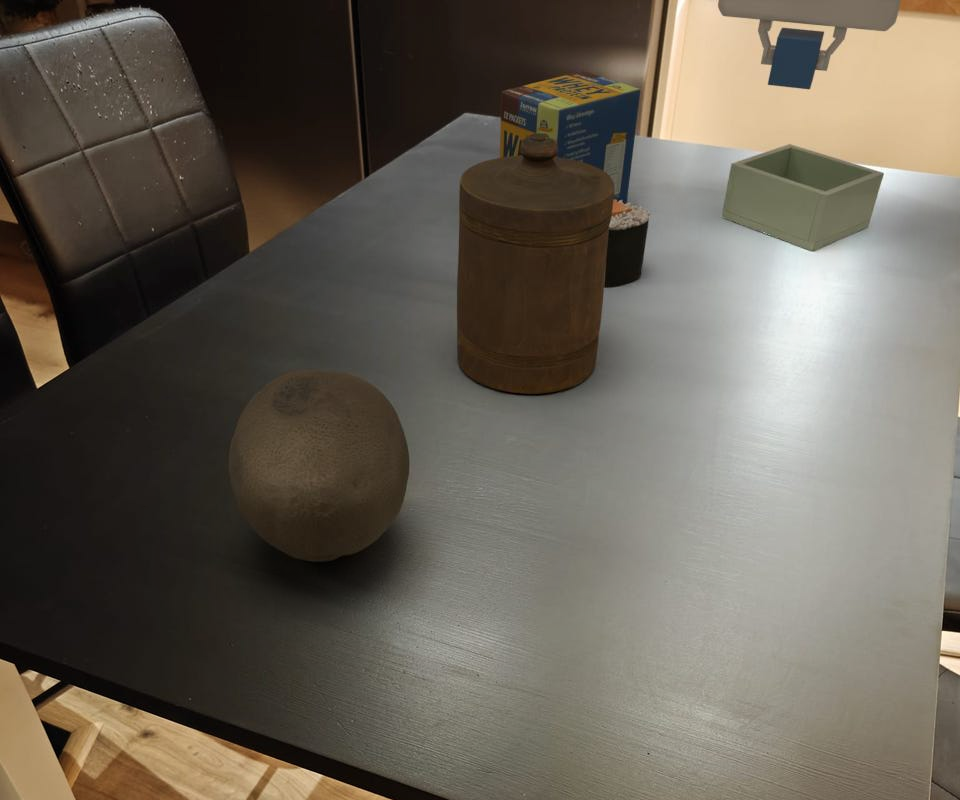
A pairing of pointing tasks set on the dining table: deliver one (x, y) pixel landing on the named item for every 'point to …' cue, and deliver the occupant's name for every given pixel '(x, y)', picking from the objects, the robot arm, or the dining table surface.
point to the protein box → (576, 121)
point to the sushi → (625, 243)
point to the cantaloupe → (319, 464)
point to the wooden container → (531, 268)
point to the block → (795, 58)
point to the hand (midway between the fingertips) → (793, 66)
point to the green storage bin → (801, 196)
